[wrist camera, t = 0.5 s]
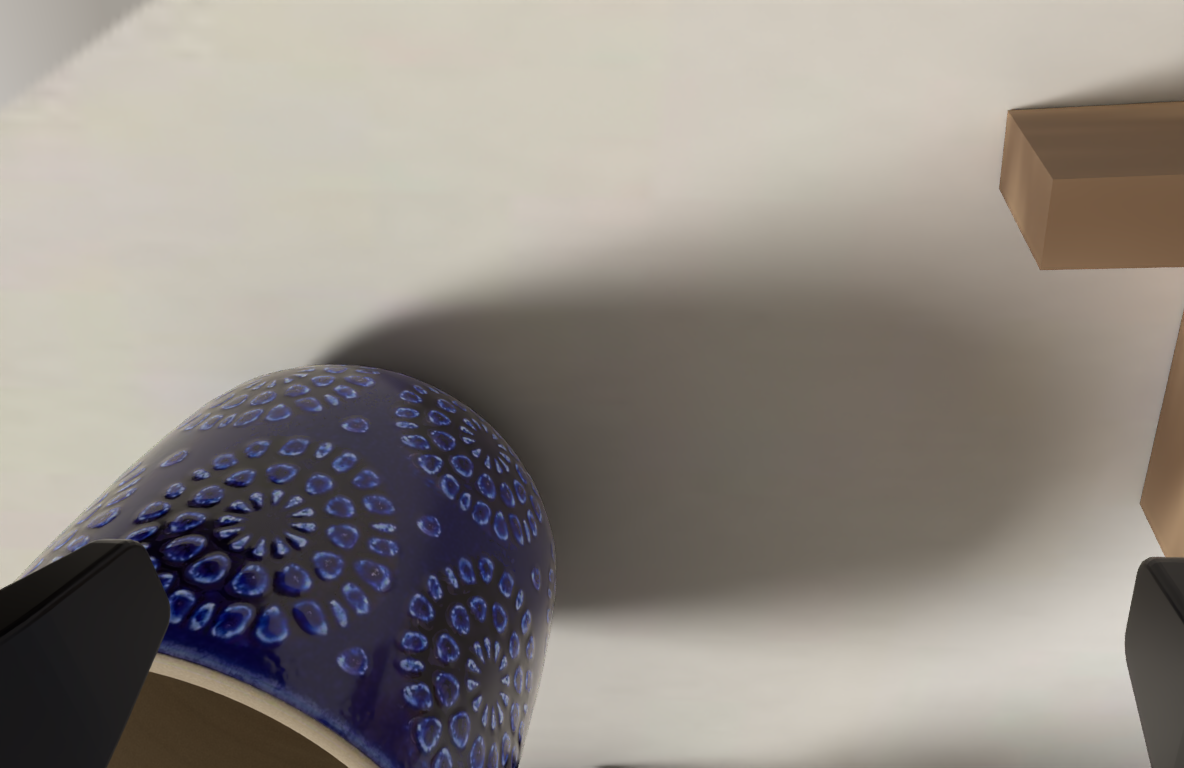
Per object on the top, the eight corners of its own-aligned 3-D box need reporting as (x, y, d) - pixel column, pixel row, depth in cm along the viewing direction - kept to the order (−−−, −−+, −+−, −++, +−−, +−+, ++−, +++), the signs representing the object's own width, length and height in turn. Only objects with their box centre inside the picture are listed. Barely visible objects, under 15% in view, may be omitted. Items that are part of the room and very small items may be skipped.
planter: (639, 394, 24) (539, 781, 15) (532, 672, 30) (412, 1073, 21) (222, 250, 24) (-144, 545, 15) (198, 556, 30) (-74, 905, 21)
